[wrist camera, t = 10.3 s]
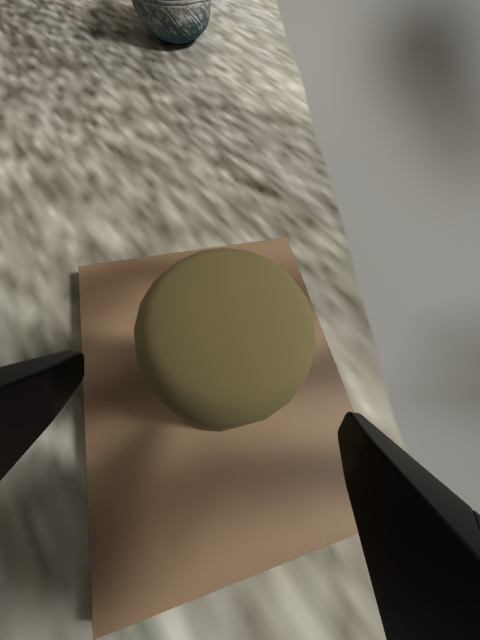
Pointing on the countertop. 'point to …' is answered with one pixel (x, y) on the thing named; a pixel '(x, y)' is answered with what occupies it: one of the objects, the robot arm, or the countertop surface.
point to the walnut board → (196, 464)
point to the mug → (174, 18)
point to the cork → (224, 338)
